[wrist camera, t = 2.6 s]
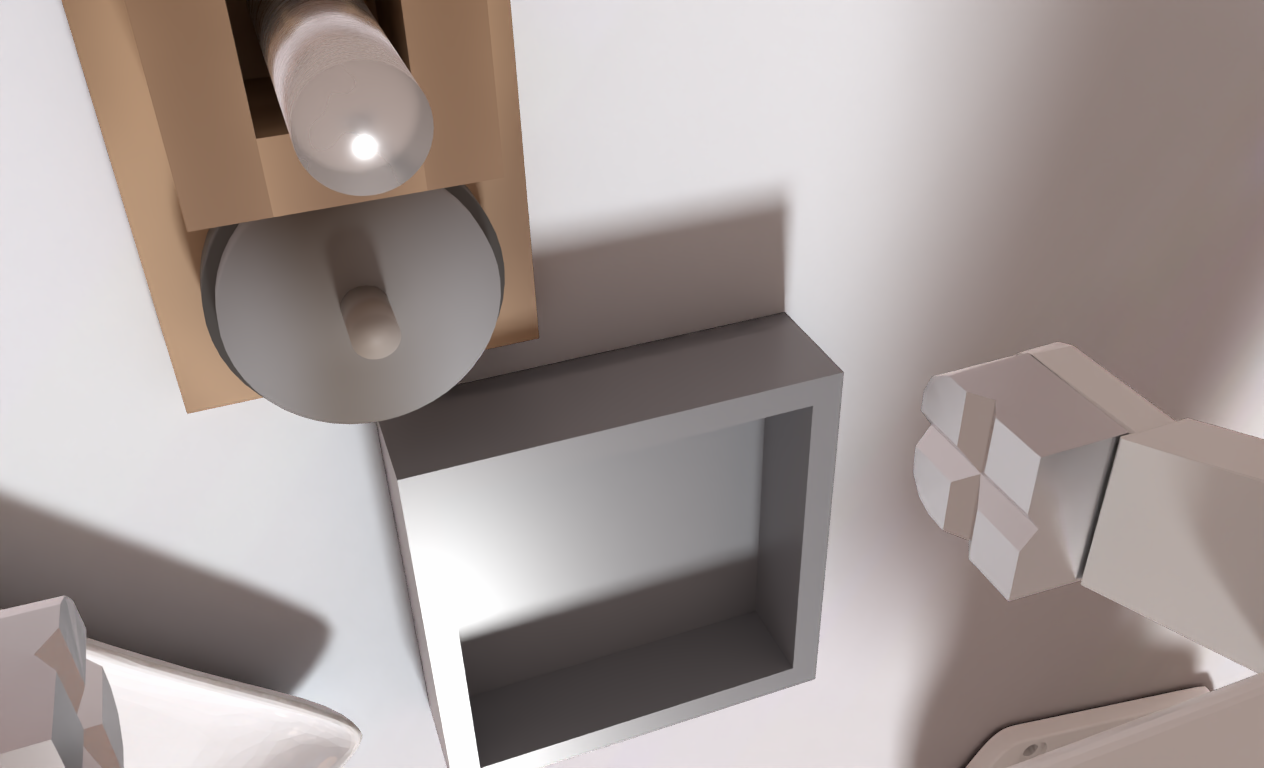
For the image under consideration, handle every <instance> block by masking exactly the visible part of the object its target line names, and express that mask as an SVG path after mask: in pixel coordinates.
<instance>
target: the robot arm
mask: <svg viewBox="0 0 1264 768" xmlns="http://www.w3.org/2000/svg"><path fill="white" fill-rule="evenodd" d="M921 411H922V413H923V414H924V415H925V417H926V418H927V419H928V421H929V422H930V423H931V425H930V427H929V428H928V429H927V431H926V432H925V434H924V435H923V436H922V438H921V439H920V440H919V442H918V443H917V445H916V448H915V458H914V468H913V474H914V478H915V482H916V486H917V490H918V494H919V498H920V499H921V501H922V503H923V505H924V507H925V509H926V510H927V512H928V514H929V515H930V517H931V518H932V519H933V520H934V521H935V522H936V523H937V525H938V526H939V527H940V528H941V529H942V530H943V531H945V532H948V533H950V534H953V535H955V536H958V537H960V538H963V539H966V540H968V541H969V560H970V561H971V562H972V563H973V564H974V565H975V566H976V567H977V568H978V569H979V570H980V572H981V573H982V574H983V575H984V576H985V577H986V578H987V579H988V580H989V581H990V582H991V583H992V585H993V586H994V587H995V588H996V589H997V590H998V591H999V592H1000V593H1001V594H1002V595H1003V596H1004V597H1005V599H1006V600H1007V601H1008V602H1009V601H1013V600H1016V599H1020V598H1023V597H1026V596H1030V595H1033V594H1037V593H1040V592H1044V591H1047V590H1050V589H1054V588H1057V587H1061V586H1064V585H1068V584H1071V583H1074V582H1078V581H1081V580H1082V581H1081V585H1082V586H1084V587H1086V588H1088V589H1090V590H1092V591H1094V592H1096V593H1098V594H1100V595H1102V596H1104V597H1106V598H1108V599H1110V600H1112V601H1114V602H1116V603H1118V604H1120V605H1122V606H1124V607H1126V608H1128V609H1130V610H1132V611H1134V612H1136V613H1138V614H1140V615H1142V616H1144V617H1146V618H1148V619H1150V620H1152V621H1154V622H1156V623H1158V624H1160V625H1162V626H1164V627H1166V628H1168V629H1170V630H1172V631H1174V632H1176V633H1178V634H1180V635H1182V636H1184V637H1186V638H1188V639H1190V640H1192V641H1194V642H1196V643H1198V644H1200V645H1202V646H1204V647H1206V648H1208V649H1210V650H1212V651H1214V652H1216V653H1218V654H1220V655H1222V656H1224V657H1226V658H1228V659H1230V660H1232V661H1234V662H1236V663H1238V664H1240V665H1242V666H1244V667H1246V668H1248V669H1250V670H1252V671H1254V672H1256V673H1258V674H1256V675H1254V676H1251V677H1248V678H1246V679H1243V680H1240V681H1238V682H1235V683H1232V684H1230V685H1227V686H1224V687H1221V688H1219V689H1216V690H1213V691H1211V692H1210V691H1209V689H1208V688H1207V687H1204V686H1202V687H1194V688H1189V689H1184V690H1180V691H1175V692H1170V693H1165V694H1161V695H1156V696H1151V697H1146V698H1142V699H1137V700H1132V701H1127V702H1123V703H1118V704H1113V705H1108V706H1104V707H1099V708H1094V709H1090V710H1085V711H1080V712H1075V713H1071V714H1066V715H1061V716H1056V717H1052V718H1047V719H1042V720H1037V721H1033V722H1028V723H1023V724H1019V725H1014V726H1010V727H1007V728H1005V729H1003V730H1001V731H1000V732H998V733H997V734H995V735H994V736H993V737H992V738H991V739H990V740H989V741H988V742H987V743H986V744H985V745H984V746H983V747H982V748H981V749H980V751H979V752H978V753H977V754H976V755H975V757H974V758H973V759H972V760H971V761H970V763H969V764H968V765H967V766H966V768H1264V439H1261V438H1258V437H1254V436H1250V435H1247V434H1243V433H1240V432H1236V431H1233V430H1229V429H1225V428H1222V427H1218V426H1215V425H1211V424H1208V423H1204V422H1201V421H1197V420H1193V419H1190V418H1186V419H1182V420H1178V421H1175V420H1173V419H1172V418H1171V417H1169V416H1168V415H1167V414H1165V413H1164V412H1162V411H1161V410H1160V409H1158V408H1157V407H1156V406H1154V405H1153V404H1152V403H1150V402H1149V401H1148V400H1146V399H1145V398H1144V397H1142V396H1141V395H1140V394H1138V393H1137V392H1136V391H1134V390H1133V389H1131V388H1130V387H1129V386H1127V385H1126V384H1125V383H1123V382H1122V381H1121V380H1119V379H1118V378H1117V377H1115V376H1114V375H1113V374H1111V373H1110V372H1109V371H1107V370H1106V369H1104V368H1103V367H1102V366H1100V365H1099V364H1098V363H1096V362H1095V361H1094V360H1092V359H1091V358H1090V357H1088V356H1087V355H1086V354H1084V353H1083V352H1082V351H1080V350H1079V349H1077V348H1076V347H1075V346H1073V345H1070V344H1066V343H1062V342H1055V343H1051V344H1048V345H1044V346H1041V347H1037V348H1033V349H1030V350H1026V351H1023V352H1019V353H1017V354H1015V355H1014V356H1009V357H1005V358H1001V359H997V360H993V361H989V362H986V363H982V364H978V365H974V366H970V367H966V368H962V369H959V370H955V371H951V372H947V373H943V374H939V375H935V376H932V377H931V379H930V381H929V382H928V384H927V386H926V388H925V389H924V394H923V400H922V406H921ZM0 768H124V756H123V741H122V735H121V728H120V721H119V715H118V710H117V707H116V703H115V700H114V696H113V693H112V690H111V686H110V684H109V681H108V679H107V676H106V674H105V672H104V669H103V667H102V666H101V665H98V664H96V663H94V662H92V661H90V660H88V659H86V627H85V625H84V622H83V620H82V618H81V616H80V614H79V612H78V610H77V607H76V605H75V603H74V601H73V600H72V599H70V598H69V597H67V596H66V595H64V596H59V597H55V598H51V599H46V600H42V601H38V602H33V603H29V604H25V605H21V606H16V607H12V608H8V609H3V610H0Z"/></svg>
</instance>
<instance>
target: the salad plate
mask: <svg viewBox="0 0 1264 768" xmlns="http://www.w3.org/2000/svg"><path fill="white" fill-rule="evenodd" d="M0 610H3V609H0ZM86 659H88V660H90V661H92V662H94V663H96V664H98V665H101V666H102V667H103V669H104V672H105V674H106V676H107V679H108V681H109V684H110V686H111V690H112V693H113V696H114V700H115V703H116V707H117V710H118V715H119V721H120V728H121V735H122V741H123V756H124V768H343V766H344V765H345V764H346V763H347V761H348V760H349V759H350V758H351V757H352V755H353V754H354V753H355V751H356V750H357V748H358V747H359V745H360V742H361V740H362V734H361V732H360V730H359V729H358V728H357V726H356V725H355V724H354V723H353V722H352V721H350V720H349V719H348V718H346V717H345V716H343V715H342V714H340V713H338V712H336V711H334V710H332V709H330V708H328V707H326V706H323V705H320V704H318V703H315V702H312V701H309V700H306V699H303V698H300V697H296V696H292V695H289V694H285V693H281V692H278V691H274V690H270V689H266V688H262V687H259V686H255V685H251V684H247V683H243V682H239V681H235V680H231V679H227V678H223V677H219V676H216V675H212V674H208V673H204V672H201V671H197V670H193V669H190V668H186V667H183V666H179V665H176V664H172V663H169V662H166V661H162V660H159V659H156V658H152V657H149V656H145V655H142V654H139V653H135V652H132V651H129V650H125V649H122V648H119V647H115V646H112V645H109V644H106V643H103V642H100V641H97V640H94V639H90V638H87V637H86Z"/></svg>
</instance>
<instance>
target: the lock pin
mask: <svg viewBox="0 0 1264 768" xmlns="http://www.w3.org/2000/svg"><path fill="white" fill-rule="evenodd" d="M246 1H247V7H248V10H249V13H250V16H251V19H252V22H253V25H254V28H255V32H256V35H257V38H258V41H259V44H260V47H261V50H262V53H263V56H264V59H265V62H266V65H267V68H268V71H269V74H270V77H271V80H272V83H273V86H274V89H275V92H276V95H277V98H278V101H279V104H280V107H281V110H282V113H283V116H284V120H285V123H286V126H287V129H288V132H289V135H290V138H291V141H292V144H293V147H294V150H295V152H296V154H297V157H298V159H299V160H300V162H301V164H302V165H303V167H304V168H305V169H306V170H307V172H308V173H309V174H310V175H311V176H312V177H313V178H314V179H315V180H317V181H318V182H320V183H321V184H322V185H324V186H326V187H328V188H330V189H332V190H334V191H337V192H340V193H343V194H347V195H354V196H370V195H377V194H381V193H385V192H387V191H390V190H392V189H394V188H396V187H398V186H400V185H402V184H403V183H405V182H406V181H407V180H409V179H410V178H411V177H412V176H413V175H414V174H415V173H416V172H417V171H418V170H419V169H420V167H421V166H422V164H423V163H424V161H425V159H426V157H427V155H428V153H429V150H430V148H431V144H432V140H433V131H434V125H433V116H432V111H431V108H430V105H429V102H428V100H427V98H426V96H425V94H424V93H423V91H422V90H421V88H420V87H419V85H418V84H417V82H416V81H415V79H414V77H413V76H412V74H411V73H410V71H409V70H408V68H407V67H406V65H405V64H404V62H403V61H402V59H401V58H400V56H399V55H398V53H397V52H396V50H395V48H394V47H393V45H392V44H391V42H390V41H389V39H388V38H387V36H386V35H385V33H384V32H383V30H382V29H381V27H380V26H379V24H378V23H377V21H376V19H375V18H374V16H373V15H372V13H371V12H370V10H369V9H368V7H367V6H366V4H365V3H364V1H363V0H246Z"/></svg>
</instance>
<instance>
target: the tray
mask: <svg viewBox="0 0 1264 768" xmlns="http://www.w3.org/2000/svg"><path fill="white" fill-rule="evenodd" d="M843 375H844V372H843V371H842V370H841V369H840V368H839V367H838V366H837V365H836V364H835V363H834V362H833V361H832V360H831V359H830V358H829V357H828V356H827V355H826V354H825V353H824V351H823V350H822V349H821V348H820V347H819V346H818V345H817V344H816V343H815V342H814V341H813V340H812V339H811V338H810V337H809V336H808V335H807V334H806V333H805V332H804V331H803V330H802V329H801V328H800V327H799V326H798V325H797V324H796V323H795V322H794V321H793V320H792V319H791V318H790V317H789V316H788V315H787V314H786V313H785V312H784V313H780V314H775V315H771V316H766V317H762V318H757V319H753V320H748V321H744V322H739V323H735V324H730V325H726V326H721V327H717V328H712V329H708V330H703V331H699V332H694V333H690V334H685V335H681V336H676V337H672V338H667V339H663V340H658V341H654V342H649V343H645V344H640V345H636V346H631V347H627V348H622V349H618V350H613V351H609V352H604V353H600V354H595V355H591V356H586V357H582V358H577V359H573V360H568V361H564V362H559V363H555V364H550V365H546V366H541V367H537V368H532V369H528V370H523V371H519V372H514V373H510V374H505V375H501V376H496V377H492V378H487V379H483V380H478V381H474V382H469V383H465V384H460V385H456V386H453V387H452V388H451V389H450V390H449V391H448V392H446V393H445V394H443V395H442V396H440V397H439V398H437V399H436V400H434V401H433V402H431V403H429V404H427V405H425V406H423V407H421V408H419V409H417V410H415V411H412V412H410V413H407V414H405V415H402V416H398V417H395V418H391V419H388V420H383V421H377V422H376V424H377V430H378V435H379V440H380V445H381V451H382V456H383V461H384V466H385V472H386V477H387V482H388V488H389V493H390V498H391V503H392V509H393V514H394V519H395V524H396V530H397V535H398V540H399V545H400V551H401V556H402V561H403V567H404V572H405V577H406V582H407V588H408V593H409V598H410V603H411V609H412V614H413V619H414V624H415V630H416V635H417V640H418V645H419V651H420V656H421V661H422V667H423V672H424V677H425V682H426V688H427V693H428V698H429V703H430V709H431V713H432V716H433V720H434V723H435V727H436V730H437V734H438V737H439V741H440V744H441V748H442V751H443V755H444V758H445V762H446V765H447V768H542V767H545V766H548V765H551V764H554V763H557V762H561V761H564V760H567V759H570V758H573V757H576V756H579V755H582V754H585V753H588V752H591V751H594V750H598V749H601V748H604V747H607V746H610V745H613V744H616V743H619V742H622V741H625V740H628V739H631V738H635V737H638V736H641V735H644V734H647V733H650V732H653V731H656V730H659V729H662V728H665V727H668V726H672V725H675V724H678V723H681V722H684V721H687V720H690V719H693V718H696V717H699V716H702V715H705V714H709V713H712V712H715V711H718V710H721V709H724V708H727V707H730V706H733V705H736V704H739V703H742V702H745V701H749V700H752V699H755V698H758V697H761V696H764V695H767V694H770V693H773V692H776V691H779V690H782V689H786V688H789V687H792V686H795V685H798V684H801V683H804V682H807V681H810V680H813V679H815V675H816V665H817V654H818V643H819V633H820V622H821V611H822V600H823V590H824V579H825V568H826V558H827V547H828V536H829V525H830V515H831V504H832V493H833V483H834V472H835V461H836V450H837V440H838V429H839V418H840V408H841V397H842V386H843Z"/></svg>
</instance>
